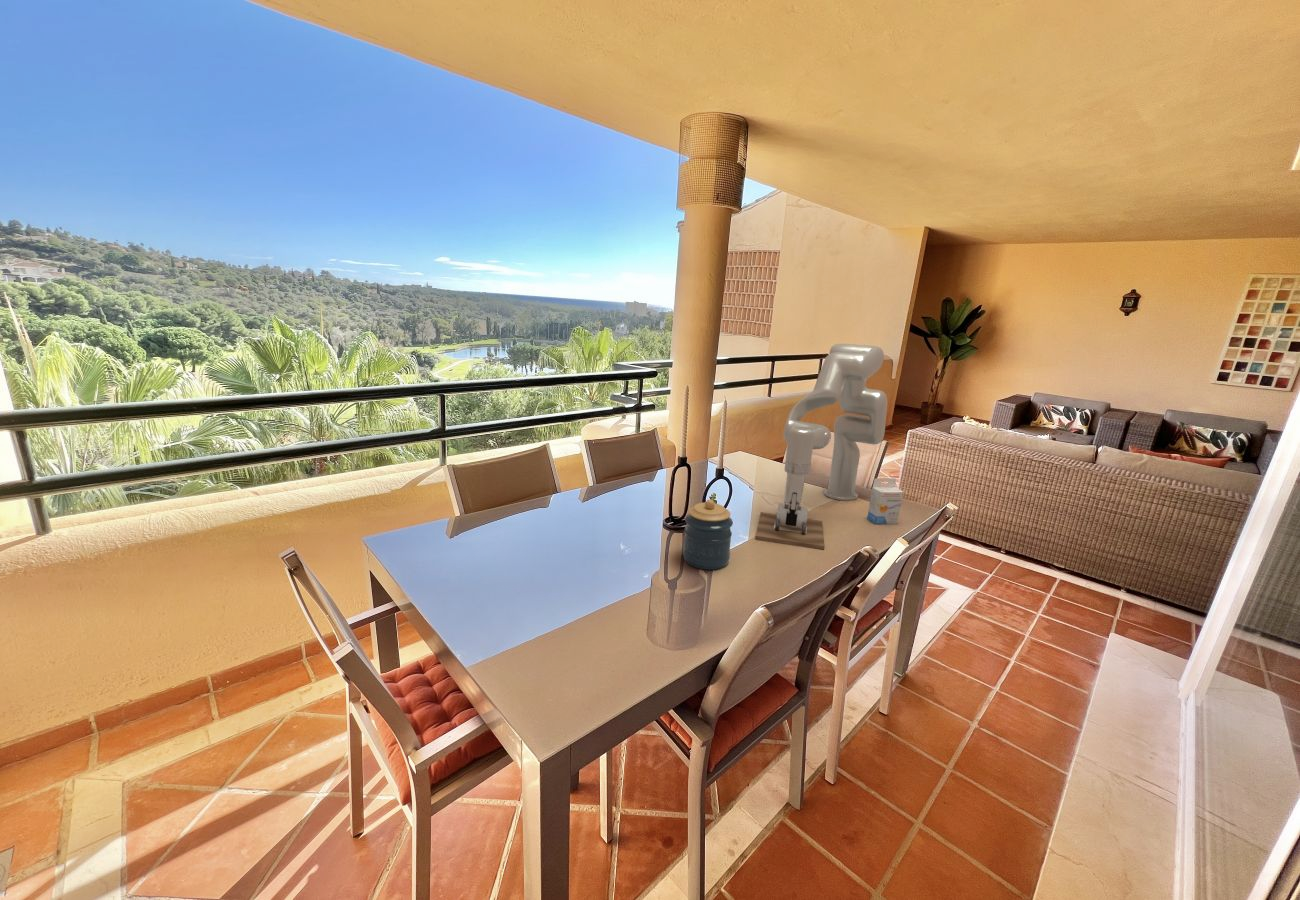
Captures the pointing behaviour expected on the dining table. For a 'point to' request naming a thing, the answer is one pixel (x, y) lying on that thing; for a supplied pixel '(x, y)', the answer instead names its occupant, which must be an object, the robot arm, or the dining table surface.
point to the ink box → (885, 502)
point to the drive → (783, 511)
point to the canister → (707, 536)
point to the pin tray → (790, 532)
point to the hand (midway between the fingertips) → (790, 521)
